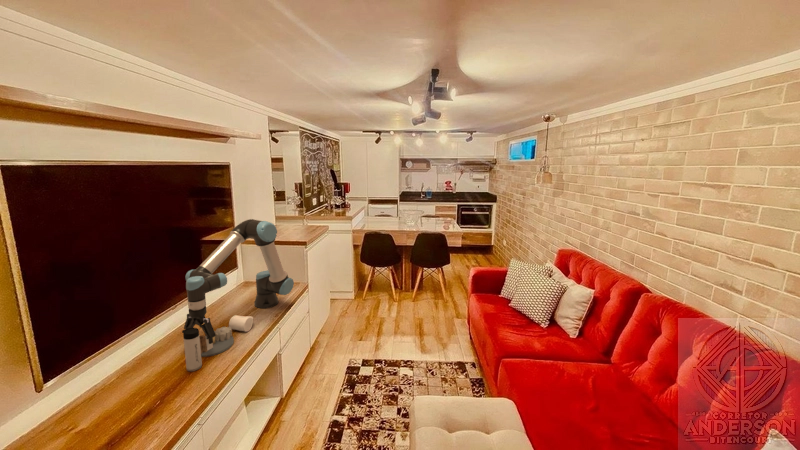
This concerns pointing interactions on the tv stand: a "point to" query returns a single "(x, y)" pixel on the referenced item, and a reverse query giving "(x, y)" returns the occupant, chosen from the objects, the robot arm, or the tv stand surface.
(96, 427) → the tv stand surface
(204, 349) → the oak gear
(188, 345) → the travel mug
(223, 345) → the carrier
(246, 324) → the mug
